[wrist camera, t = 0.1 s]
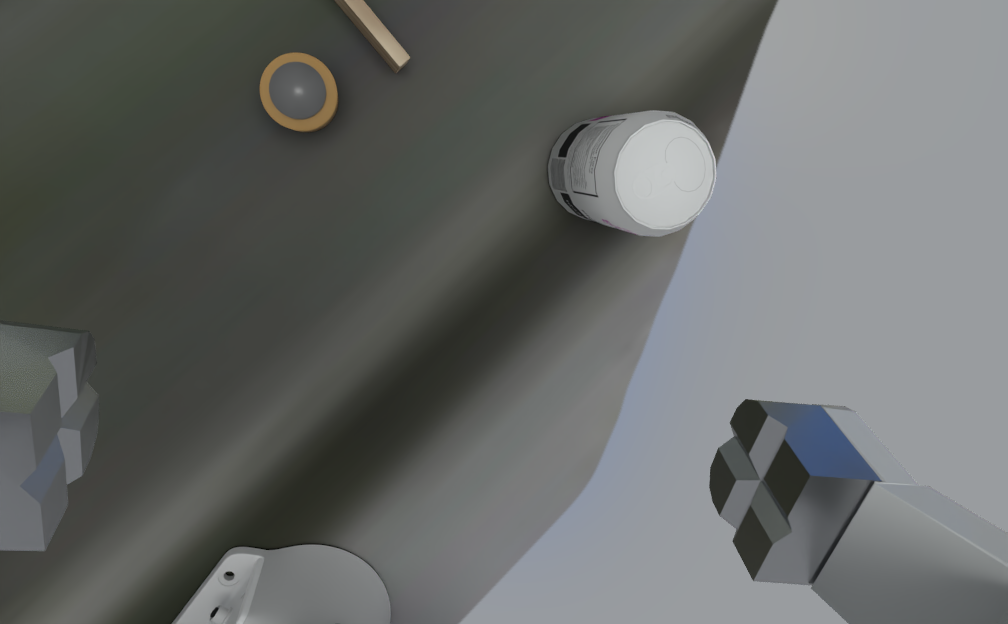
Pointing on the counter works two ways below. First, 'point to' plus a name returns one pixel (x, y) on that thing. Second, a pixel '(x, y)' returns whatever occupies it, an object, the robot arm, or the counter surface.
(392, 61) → the maple bay
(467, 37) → the counter surface
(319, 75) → the amber jar
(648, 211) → the supplement can
